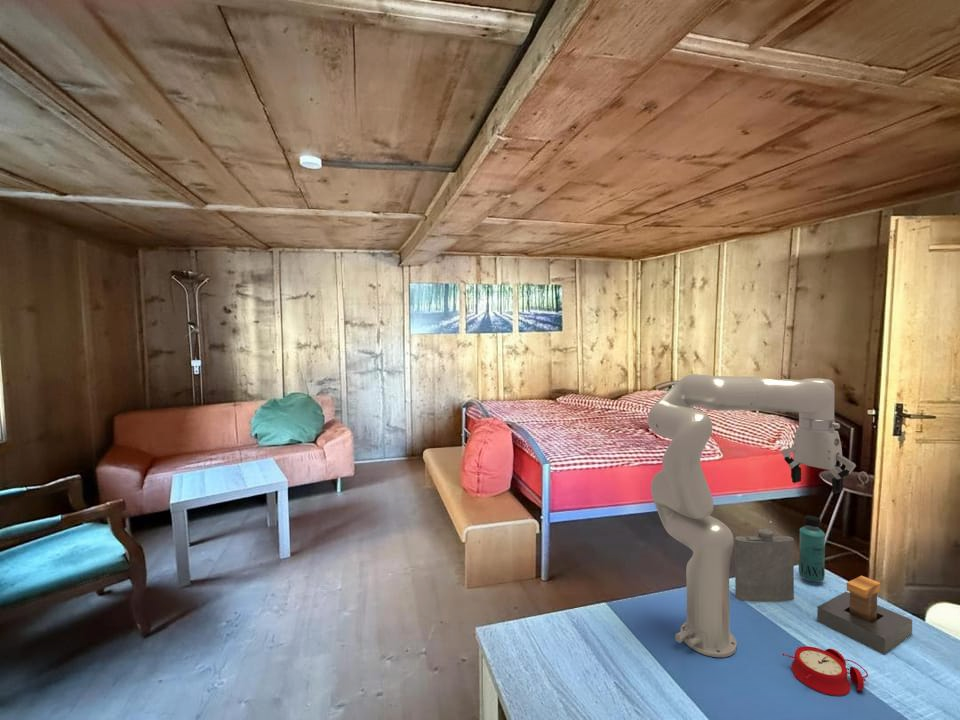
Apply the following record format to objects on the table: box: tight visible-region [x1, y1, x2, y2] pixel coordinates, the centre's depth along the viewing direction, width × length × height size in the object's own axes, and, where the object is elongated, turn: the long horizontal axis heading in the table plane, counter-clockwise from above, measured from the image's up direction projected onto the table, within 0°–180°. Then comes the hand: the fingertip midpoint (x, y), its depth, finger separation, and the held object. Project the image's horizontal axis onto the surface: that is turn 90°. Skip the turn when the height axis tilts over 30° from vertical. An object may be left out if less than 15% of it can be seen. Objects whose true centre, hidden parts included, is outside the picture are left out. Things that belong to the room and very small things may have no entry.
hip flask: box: [734, 528, 795, 603], centre depth 127 cm, size 16×4×20 cm, turn 87°
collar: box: [816, 591, 913, 656], centre depth 113 cm, size 14×14×4 cm
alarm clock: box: [781, 645, 869, 697], centre depth 98 cm, size 10×6×15 cm
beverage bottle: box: [798, 515, 826, 583], centre depth 134 cm, size 6×7×20 cm
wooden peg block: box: [846, 575, 882, 623], centre depth 113 cm, size 7×4×12 cm, turn 115°
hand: (815, 487), depth 119 cm, fingers open, 9 cm apart
